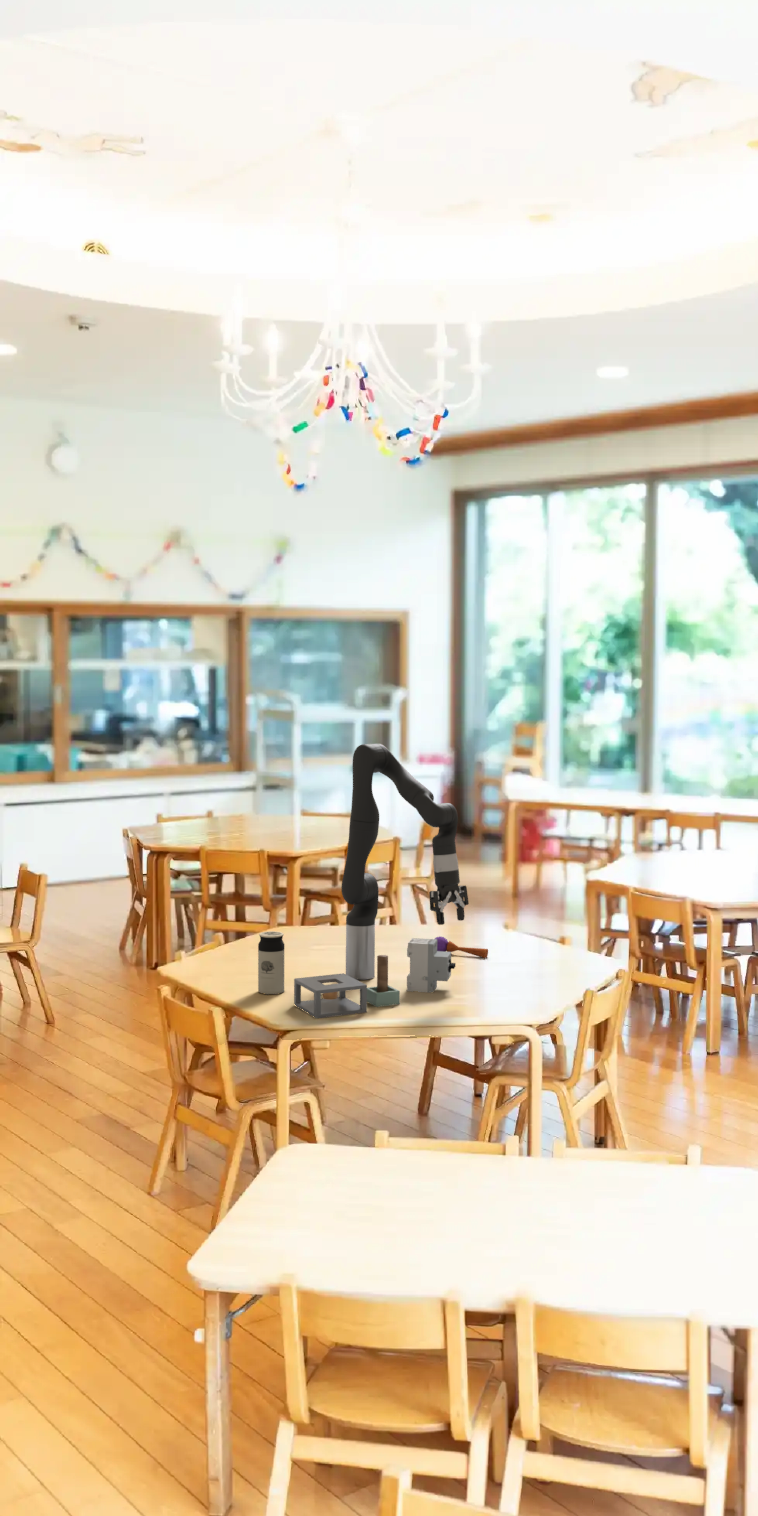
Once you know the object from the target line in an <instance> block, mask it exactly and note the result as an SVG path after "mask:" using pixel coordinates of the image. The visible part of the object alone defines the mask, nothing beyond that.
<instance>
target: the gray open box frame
mask: <svg viewBox="0 0 758 1516" xmlns="http://www.w3.org/2000/svg"><path fill="white" fill-rule="evenodd" d="M328 983H332V984H328ZM302 987H303V988H304V989H306V990H308V991H310V992H311V993H313V999H308V1000H302ZM367 988H368V984H366V983H364V982H362V981H360V980H356V979H354V978H352V977H350V976H348V975H346V973H345V972H344V973H342V972H341V973H334V974H325V975H323V974H322V975H315V976H306V977H295V978H294V979H293V992H294V994H293V1001H294V1002H293V1005H294V1004H295V1005H296V1006H297V1007H296V1006H295V1007H296V1008H298V1007H299V1008H301V1009H303V1010H304V1011H306V1012H308V1013H309V1014H310V1015H309V1014H308V1013H307V1014H308V1015H309V1016H311V1015H312V1016H311V1017H313V1016H314V1017H315V1019H323V1018H331V1017H339V1016H347V1015H348V1016H349V1015H356V1014H355V1013H357V1014H364V1013H367V1012H368V1002H367ZM355 990H359V1003H357V1002H355V1001H354V1000H351V999H349V998H348V997H346V996H347V995H346V994H347V993H346V992H348V991H355ZM331 992H338V998H337V999H332V1000H328V999H323V998H322V995H323V993H331ZM299 1008H298V1009H299ZM301 1009H300V1010H301ZM303 1010H302V1011H303ZM304 1011H303V1012H304ZM306 1012H305V1013H306ZM314 1017H313V1018H314Z"/></svg>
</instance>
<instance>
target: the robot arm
mask: <svg viewBox="0 0 758 1516" xmlns="http://www.w3.org/2000/svg"><path fill="white" fill-rule="evenodd" d="M374 773H377V774H378V773H380V774H382V775H384V776H385V777H387V778H388V779H390V780H391V781H392V782H393V784H394V786H395V787H396V790H397V792H398V793H399V795H400V796H401V798H402V799H403V800H405V802H407V803H408V804H409V805H410V806H412V807H413V808H414V809H416V811H417V813H418V814H419V816H420V817H421V818H422V820H423V821H424V823H426V824H427V825H428V826H429V827H432V828H438V832H437V834H436V835H435V836H433V837H432V840H431V841H432V844H431V845H432V853H433V858H432V863H433V874H434V884H435V886H436V887H437V889H436V890H430V891H429V910H430V911H431V912H435V916H436V922H437V925H439V926H441V925H442V926H443V925H445V913H444V910H445V907H446V906H447V905H448V904H450V903H452V904H454V905H455V907H456V918H457V921H465V918H466V917H465V907H466V906H467V905H469V895H468V889H467V887H468V886H466V885H459V884H460V883H461V881H460V871H459V859H458V855H457V847H456V845H457V844H456V835H457V830H458V821H459V817H458V811H457V809H456V807H455V806H454V804H452V803H450V802H443V803H442V802H441V803H436V802H434V799H435V797H434V794H433V792H432V791H431V790H429V789H428V788H427V787H426V786H425V785H424V784H422V783H421V782H420V781H418V780H417V779H416V778H415V777H414V776H413V775H411V773H410V772H408V769H406V768H405V767H404V766H403V765H402V763H400V761H399V760H398V759H397V758H396V756H394V754H393V753H392V752H391V751H390V750H389V749H388V748H387V747H386V746H385V745H384V744H382V743H366V744H365V743H363V744H359V745H358V746H356V748H355V750H354V752H353V754H352V793H351V795H352V796H351V809H350V818H349V827H348V828H349V829H348V830H349V831H348V841H347V842H348V843H347V851H346V852H347V853H346V860H345V866H344V869H343V875H342V882H341V894H342V898H343V900H344V901H345V902H346V903H347V904H348V905H353V907H352V909H351V910H350V911H349V912H348V913H347V915H346V916H345V974H346V975H348V976H350V977H352V978H354V979H356V980H358V981H360V980H361V981H363V980H366V981H367V980H371V979H373V978H375V977H376V976H375V969H376V967H375V965H376V963H375V961H376V960H375V959H376V958H375V957H376V951H375V950H376V948H375V946H376V924H375V923H376V918H377V916H378V912H379V911H378V910H379V909H378V907H379V884H378V881H377V879H376V877H375V876H374V875H373V874H372V873H369V872H365V871H366V865H367V861H368V858H369V857H370V854H371V852H372V850H373V848H374V846H375V844H376V841H377V839H378V835H379V827H380V810H379V808H378V805H377V803H376V799H375V796H374V793H373V777H374Z"/></svg>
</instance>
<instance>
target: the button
mask: <svg viewBox="0 0 758 1516" xmlns="http://www.w3.org/2000/svg"><path fill="white" fill-rule="evenodd" d="M338 997H339V992H331V993H322V999H328V1000H332V999H337V998H338Z"/></svg>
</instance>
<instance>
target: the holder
mask: <svg viewBox="0 0 758 1516" xmlns="http://www.w3.org/2000/svg"><path fill="white" fill-rule="evenodd" d="M400 994H401V993H400V990H399V989H397V988H395V987H393V986H390V985H389V984H388V992H379V993H378V992H377V986H369V987H368V986H367V1004H370V1005H372V1006H373V1007H375V1008H379V1007H386V1006H389V1007H390V1006H395V1005H400V1002H401V1001H400V1000H401V999H400V998H401V997H400V996H401V995H400Z"/></svg>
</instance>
